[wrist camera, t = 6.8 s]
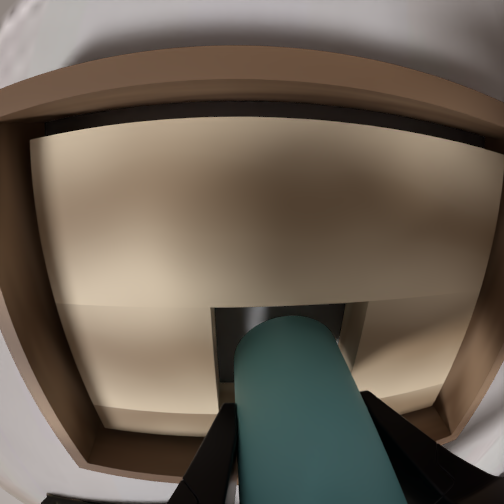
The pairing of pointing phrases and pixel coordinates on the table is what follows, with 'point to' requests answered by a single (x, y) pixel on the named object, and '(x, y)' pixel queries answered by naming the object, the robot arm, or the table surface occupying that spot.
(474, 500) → the robot arm
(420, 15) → the table surface
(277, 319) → the peg
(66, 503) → the network switch
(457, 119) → the open box
